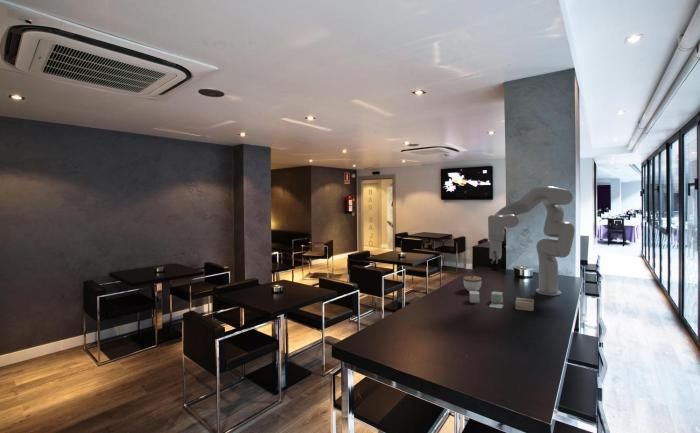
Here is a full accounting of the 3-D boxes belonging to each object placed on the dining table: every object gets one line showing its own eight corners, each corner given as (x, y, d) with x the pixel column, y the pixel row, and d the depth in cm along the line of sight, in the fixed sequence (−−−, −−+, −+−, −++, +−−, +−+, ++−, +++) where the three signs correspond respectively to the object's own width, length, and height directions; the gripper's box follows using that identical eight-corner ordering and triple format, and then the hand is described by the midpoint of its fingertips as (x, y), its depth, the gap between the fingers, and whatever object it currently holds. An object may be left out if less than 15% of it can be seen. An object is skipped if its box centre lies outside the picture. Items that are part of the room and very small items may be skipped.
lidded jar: (459, 289, 209) (459, 275, 208) (472, 287, 213) (472, 272, 213) (472, 293, 199) (472, 278, 199) (485, 290, 204) (485, 275, 203)
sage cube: (493, 300, 186) (492, 291, 186) (502, 301, 183) (502, 292, 183) (491, 302, 182) (491, 293, 182) (501, 303, 179) (501, 294, 179)
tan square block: (516, 304, 177) (516, 297, 177) (534, 306, 173) (533, 299, 173) (515, 309, 170) (515, 301, 170) (533, 311, 166) (533, 303, 166)
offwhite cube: (469, 299, 189) (469, 291, 188) (479, 300, 187) (478, 291, 187) (469, 302, 184) (469, 293, 184) (479, 303, 182) (479, 294, 182)
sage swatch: (491, 303, 180) (491, 303, 180) (503, 305, 176) (503, 304, 176) (489, 307, 175) (489, 306, 175) (501, 308, 171) (501, 308, 171)
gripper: (491, 235, 190) (492, 265, 191) (485, 239, 175) (486, 271, 176) (505, 236, 186) (506, 266, 187) (500, 240, 171) (501, 272, 172)
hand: (496, 268), depth 181 cm, fingers open, 9 cm apart
